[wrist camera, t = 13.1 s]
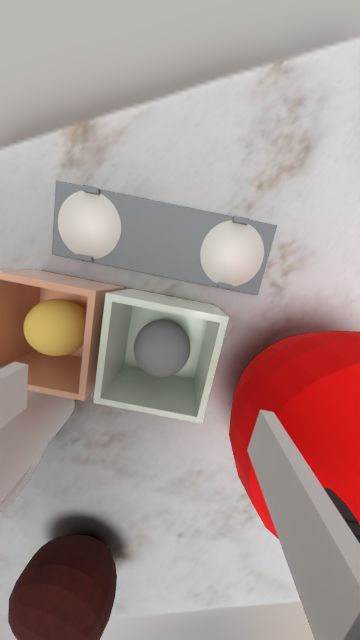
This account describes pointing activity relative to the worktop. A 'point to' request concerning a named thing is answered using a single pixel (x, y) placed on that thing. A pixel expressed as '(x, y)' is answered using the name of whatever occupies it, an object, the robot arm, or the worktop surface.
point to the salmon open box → (43, 370)
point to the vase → (304, 410)
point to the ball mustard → (55, 327)
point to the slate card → (160, 238)
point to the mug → (29, 440)
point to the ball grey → (162, 348)
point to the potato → (64, 591)
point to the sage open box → (132, 381)
